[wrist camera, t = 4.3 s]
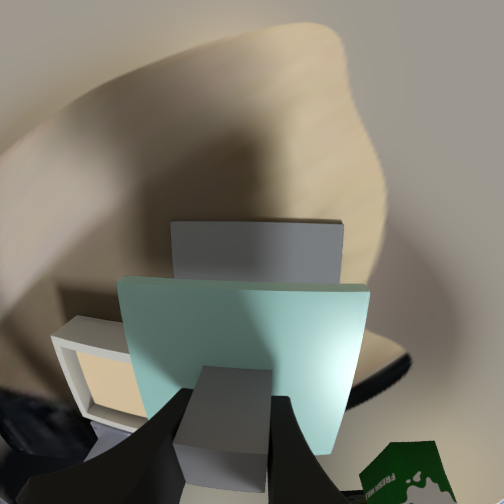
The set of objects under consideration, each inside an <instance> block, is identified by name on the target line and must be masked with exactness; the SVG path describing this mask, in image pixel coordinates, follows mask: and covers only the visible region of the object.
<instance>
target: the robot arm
mask: <svg viewBox="0 0 504 504" xmlns="http://www.w3.org/2000/svg"><path fill="white" fill-rule="evenodd" d="M193 391H194V389H189V388H181V389H180V390H179V391H178V392H177V393H176V394H175V395H174V396H173V397H172V398H171V399H170V400H169V401H168V402H167V403H166V404H165V405H164V406H163V407H162V408H161V409H160V410H159V411H158V412H157V413H156V414H155V415H154V416H153V417H151V418H150V419H149V420H148V421H147V422H146V423H145V424H144V425H142V426H141V427H140V428H139V429H137V430H136V431H135V432H134V433H131V432H127V431H124V430H120V429H117V428H114V427H111V426H108V425H105V424H102V423H99V422H96V421H91V425H92V427H93V429H94V431H95V433H96V435H97V437H98V440H97V442H96V443H95V445H94V447H93V448H92V450H91V451H90V453H89V454H88V456H87V458H86V459H85V461H84V462H83V463H80V464H78V465H75V466H72V467H69V468H67V469H64V470H61V471H57V472H53V473H49V474H44V475H39V476H33V477H30V479H29V480H28V481H27V483H26V484H25V485H24V487H23V488H22V490H21V491H20V493H19V494H18V496H17V497H16V502H17V503H18V504H179V502H180V498H181V495H182V491H183V488H184V486H185V483H186V480H185V478H184V475H183V472H182V469H181V467H180V464H179V461H178V458H177V455H176V452H175V449H174V446H173V441H174V438H175V436H176V433H177V431H178V428H179V426H180V423H181V421H182V418H183V416H184V413H185V411H186V408H187V406H188V403H189V401H190V398H191V396H192V393H193ZM267 473H268V498H269V503H268V504H351V503H350V501H349V500H348V499H347V498H346V497H345V496H344V495H343V494H342V493H341V492H340V491H339V490H338V488H337V487H336V486H335V485H334V483H333V482H332V481H331V480H330V478H329V477H328V476H327V474H326V473H325V472H324V470H323V469H322V467H321V466H320V464H319V463H318V461H317V459H316V458H315V456H314V454H313V452H312V451H311V449H310V447H309V445H308V443H307V441H306V439H305V437H304V435H303V433H302V431H301V429H300V427H299V424H298V422H297V419H296V417H295V414H294V411H293V408H292V404H291V399H290V397H288V396H275V395H271V410H270V429H269V446H268V460H267ZM0 504H7V503H6V502H5V501H4V500H3V499H1V498H0Z"/></svg>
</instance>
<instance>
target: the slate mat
mask: <svg viewBox="0 0 504 504" xmlns="http://www.w3.org/2000/svg"><path fill="white" fill-rule="evenodd" d="M170 227H171V246H172V261H173V274H174V279H192V280H214V281H240V282H271V283H321V284H339V281H340V271H341V260H342V248H343V234H344V224H329V223H298V222H253V221H171V222H170Z"/></svg>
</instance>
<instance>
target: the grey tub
mask: <svg viewBox="0 0 504 504" xmlns="http://www.w3.org/2000/svg"><path fill="white" fill-rule="evenodd" d="M51 338H52V342H53V345H54V348H55V351H56V353H57V356H58V359H59V362H60V365H61V367H62V370H63V372H64V375H65V377H66V380H67V382H68V385H69V387H70V389H71V392H72V394H73V396H74V398H75V401H76V403H77V405H78V407H79V409H80V411H81V413H82V415H83V417H86V418H89V419H91V420H94V421H97V422H100V423H103V424H106V425H109V426H112V427H115V428H118V429H122V430H125V431H129V432H132V433H134V432H135V431H136V430H137V429H139V428H140V427H141V426H142V425H144V424H145V423H146V422H147V421H148V417H147V414H146V411H145V408H144V405H143V402H142V398H141V395H140V392H139V388H138V385H137V381H136V377H135V373H134V370H133V366H132V362H131V358H130V353H129V349H128V345H127V340H126V335H125V331H124V326H123V323H122V322H115V321H109V320H103V319H97V318H91V317H86V316H80V315H77V316H75V317H74V318H73V319H71V320H70V321H69V322H67V323H66V324H65V325H64V326H62V327H61V328H60V329H58V330H57V331H56V332H54V333H53V334H52V335H51Z"/></svg>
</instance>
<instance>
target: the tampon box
mask: <svg viewBox="0 0 504 504" xmlns="http://www.w3.org/2000/svg"><path fill="white" fill-rule="evenodd" d="M340 492H341V493H342V494H343V495H344V496H345V497H346V498H347V499H348V500H349V501H350V503H351V504H367V501H366V498H365V494H364V491H363V490H355V491H354V490H353V491H340Z"/></svg>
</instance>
